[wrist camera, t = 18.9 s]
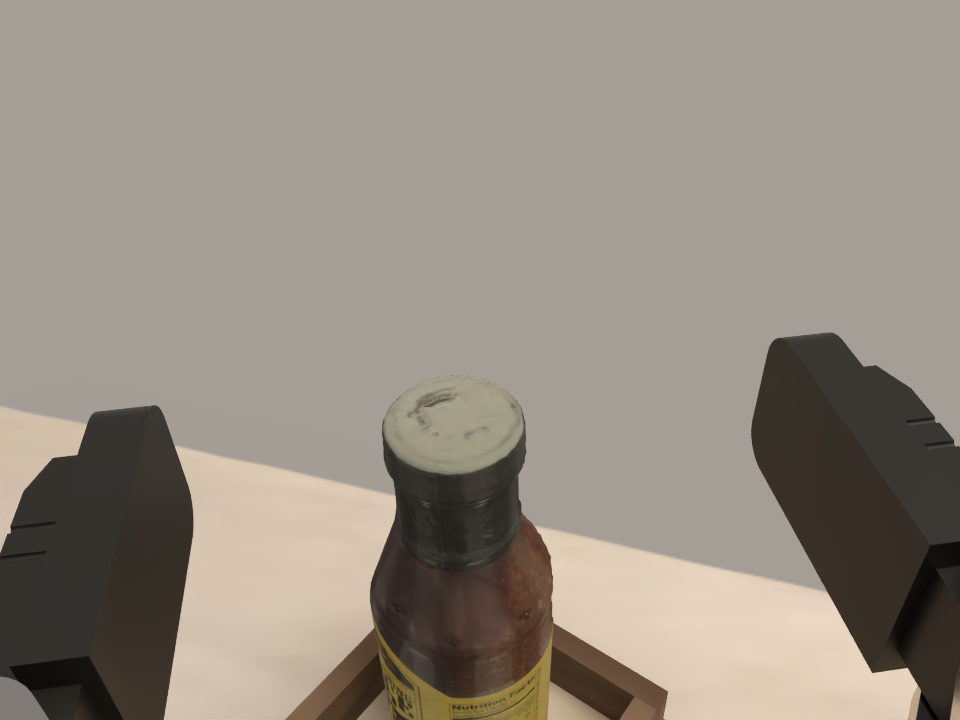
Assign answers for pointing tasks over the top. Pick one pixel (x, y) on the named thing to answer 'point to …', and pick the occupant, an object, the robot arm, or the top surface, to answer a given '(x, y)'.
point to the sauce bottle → (461, 561)
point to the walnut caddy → (572, 692)
